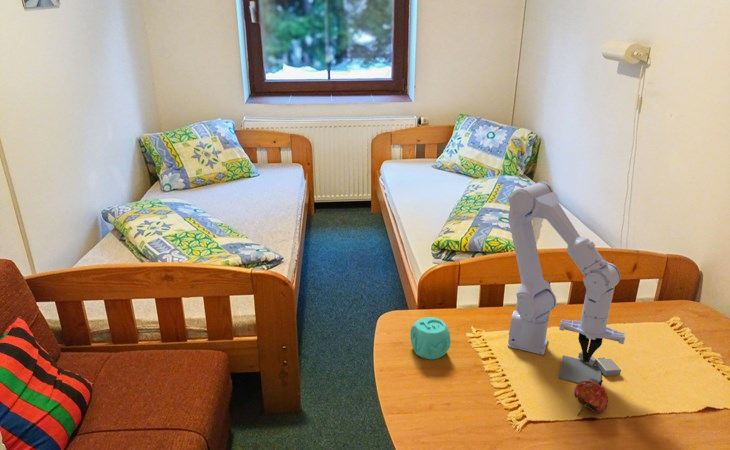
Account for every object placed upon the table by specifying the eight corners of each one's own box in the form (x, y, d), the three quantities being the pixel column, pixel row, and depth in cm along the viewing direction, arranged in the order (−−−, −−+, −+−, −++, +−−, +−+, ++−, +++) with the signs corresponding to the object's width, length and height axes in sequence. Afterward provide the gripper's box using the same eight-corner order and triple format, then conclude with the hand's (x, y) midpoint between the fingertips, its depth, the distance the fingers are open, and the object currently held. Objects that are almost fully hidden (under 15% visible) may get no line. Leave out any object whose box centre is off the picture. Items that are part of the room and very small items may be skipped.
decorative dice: (409, 344, 149) (410, 319, 146) (436, 339, 151) (438, 314, 148) (421, 362, 142) (422, 335, 139) (449, 356, 144) (451, 330, 141)
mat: (558, 378, 136) (558, 377, 136) (562, 356, 145) (562, 355, 144) (599, 388, 133) (600, 387, 133) (601, 365, 141) (601, 364, 141)
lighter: (619, 375, 138) (601, 354, 145) (621, 369, 137) (603, 349, 144) (593, 376, 136) (576, 356, 143) (595, 371, 135) (578, 350, 143)
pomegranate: (595, 432, 123) (624, 398, 124) (582, 415, 119) (612, 381, 120) (570, 413, 129) (598, 382, 130) (557, 397, 126) (585, 365, 127)
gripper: (561, 313, 131) (553, 361, 136) (628, 328, 126) (617, 377, 131) (564, 299, 137) (556, 345, 142) (628, 313, 132) (617, 360, 137)
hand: (585, 359), depth 137 cm, fingers closed
